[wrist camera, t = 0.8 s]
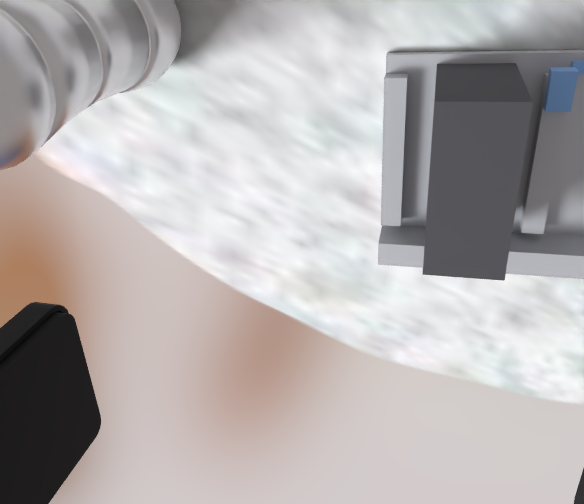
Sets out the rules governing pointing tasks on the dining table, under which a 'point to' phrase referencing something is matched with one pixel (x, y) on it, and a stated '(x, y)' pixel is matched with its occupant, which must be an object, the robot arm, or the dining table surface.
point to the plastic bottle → (75, 61)
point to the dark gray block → (475, 168)
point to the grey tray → (536, 167)
